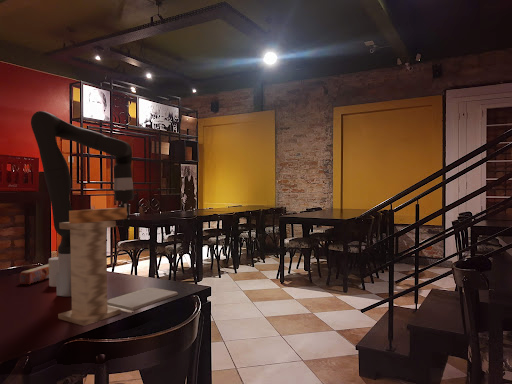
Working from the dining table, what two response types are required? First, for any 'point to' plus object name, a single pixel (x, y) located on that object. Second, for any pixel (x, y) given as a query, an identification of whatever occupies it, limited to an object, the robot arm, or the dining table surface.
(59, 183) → the robot arm
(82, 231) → the stand
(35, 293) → the dining table surface
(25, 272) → the snack package
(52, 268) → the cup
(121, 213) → the bar
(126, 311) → the line
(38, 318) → the dining table surface
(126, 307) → the mat
